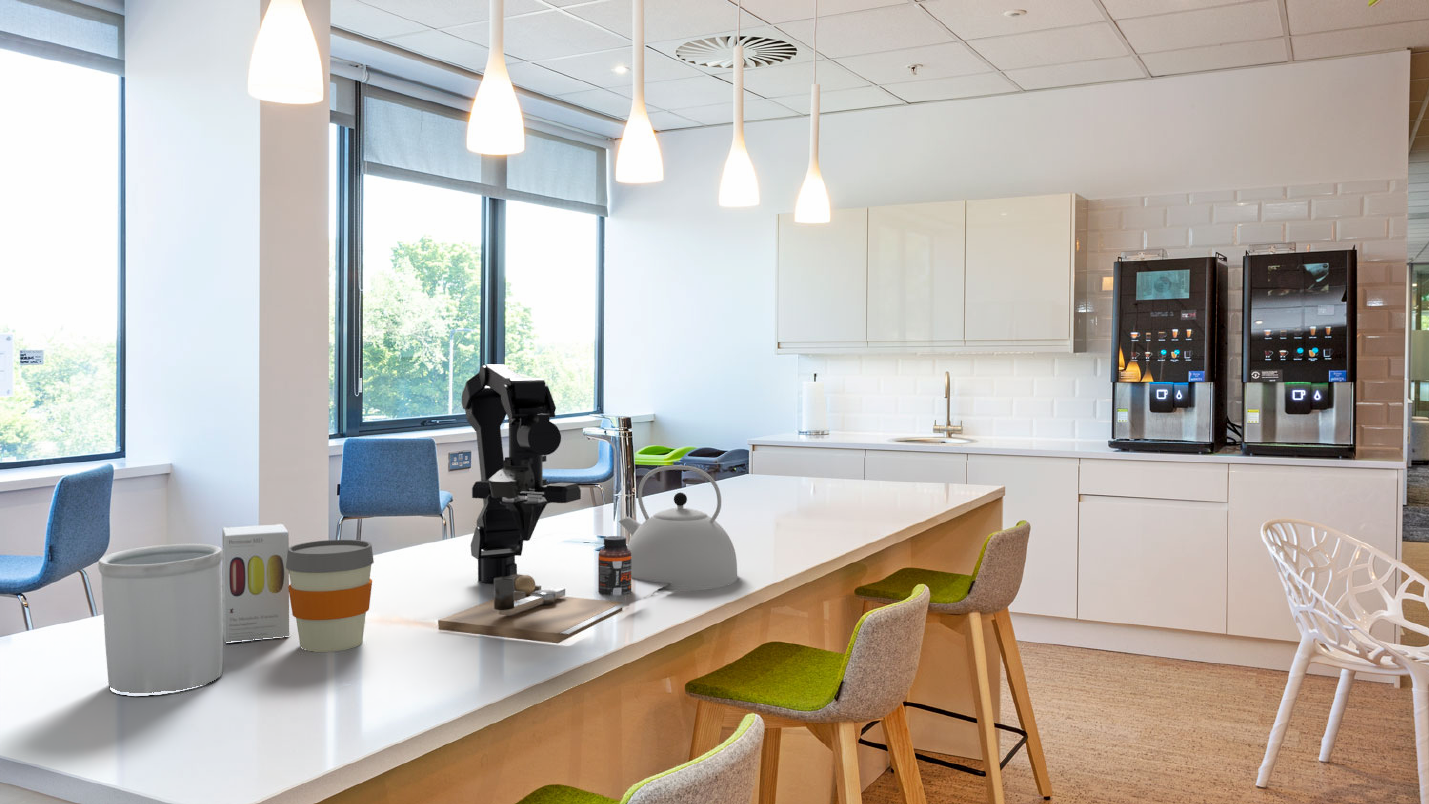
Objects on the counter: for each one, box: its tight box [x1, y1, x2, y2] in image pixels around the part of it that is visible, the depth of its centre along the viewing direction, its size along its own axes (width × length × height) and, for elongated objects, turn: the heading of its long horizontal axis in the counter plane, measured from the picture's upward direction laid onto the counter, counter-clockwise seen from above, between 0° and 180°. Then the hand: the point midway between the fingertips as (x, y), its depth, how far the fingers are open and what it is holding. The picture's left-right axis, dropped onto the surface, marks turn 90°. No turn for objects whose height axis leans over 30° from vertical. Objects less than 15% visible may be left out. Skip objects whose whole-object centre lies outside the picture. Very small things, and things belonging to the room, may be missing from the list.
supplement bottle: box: [597, 535, 632, 596], centre depth 189 cm, size 6×6×11 cm
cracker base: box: [437, 573, 623, 644], centre depth 176 cm, size 22×24×4 cm
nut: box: [515, 574, 536, 595], centre depth 186 cm, size 4×4×4 cm
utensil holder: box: [97, 543, 224, 693], centre depth 142 cm, size 15×15×18 cm
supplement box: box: [221, 523, 290, 643], centre depth 165 cm, size 10×9×17 cm
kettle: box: [618, 464, 739, 592], centre depth 208 cm, size 25×23×22 cm
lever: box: [493, 576, 566, 616], centre depth 176 cm, size 18×4×6 cm, turn 154°
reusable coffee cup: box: [286, 539, 375, 653], centre depth 160 cm, size 13×13×15 cm
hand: (526, 540), depth 182 cm, fingers closed
